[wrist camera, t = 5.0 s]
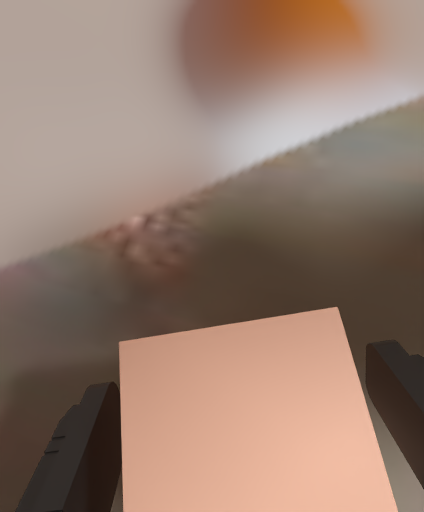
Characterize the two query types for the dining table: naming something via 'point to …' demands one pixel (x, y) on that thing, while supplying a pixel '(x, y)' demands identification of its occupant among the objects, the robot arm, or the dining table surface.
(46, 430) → the dining table surface
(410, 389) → the robot arm
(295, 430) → the terracotta block
